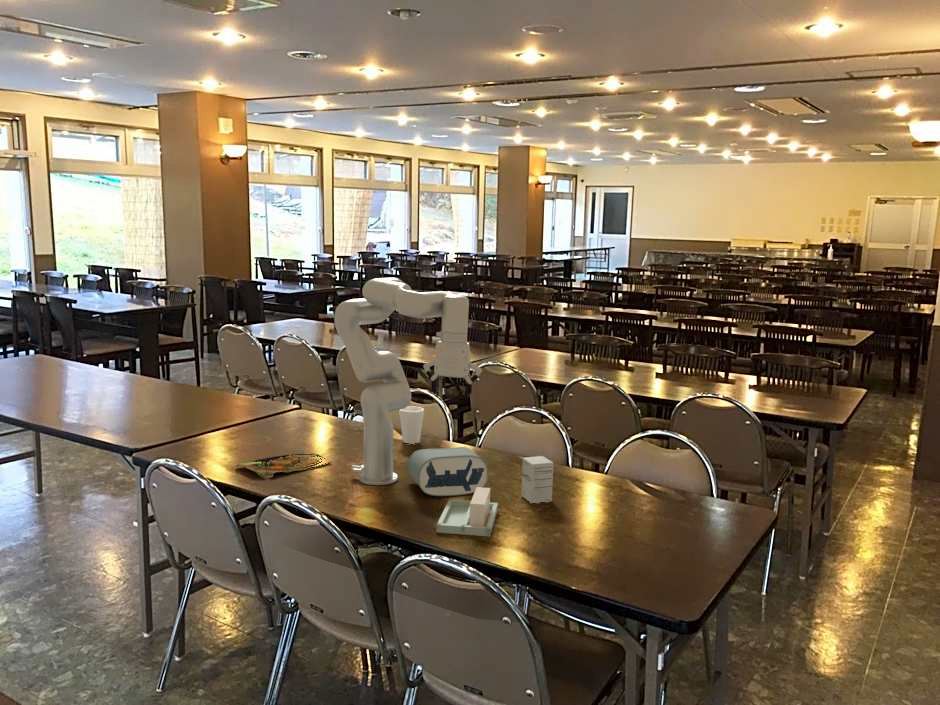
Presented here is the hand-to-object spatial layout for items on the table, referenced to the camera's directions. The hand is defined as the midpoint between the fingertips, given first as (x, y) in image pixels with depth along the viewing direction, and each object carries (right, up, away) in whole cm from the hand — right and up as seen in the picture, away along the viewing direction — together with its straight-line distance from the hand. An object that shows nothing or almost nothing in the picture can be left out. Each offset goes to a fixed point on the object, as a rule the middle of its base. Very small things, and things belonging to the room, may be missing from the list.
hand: (451, 394), depth 234 cm
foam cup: (-17, -22, +70) cm, 76 cm away
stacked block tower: (+26, -33, +11) cm, 43 cm away
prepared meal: (-58, -27, +37) cm, 74 cm away
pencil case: (-2, -31, +19) cm, 37 cm away
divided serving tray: (+5, -35, -9) cm, 37 cm away
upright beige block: (+8, -35, -9) cm, 37 cm away
